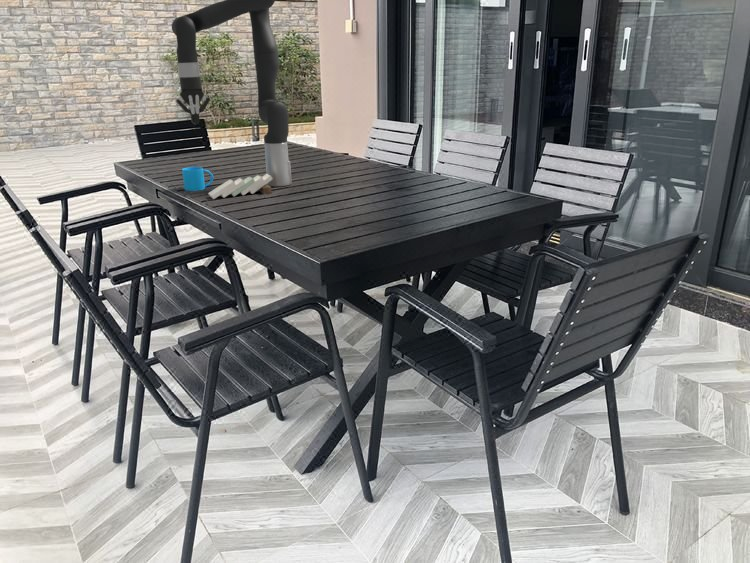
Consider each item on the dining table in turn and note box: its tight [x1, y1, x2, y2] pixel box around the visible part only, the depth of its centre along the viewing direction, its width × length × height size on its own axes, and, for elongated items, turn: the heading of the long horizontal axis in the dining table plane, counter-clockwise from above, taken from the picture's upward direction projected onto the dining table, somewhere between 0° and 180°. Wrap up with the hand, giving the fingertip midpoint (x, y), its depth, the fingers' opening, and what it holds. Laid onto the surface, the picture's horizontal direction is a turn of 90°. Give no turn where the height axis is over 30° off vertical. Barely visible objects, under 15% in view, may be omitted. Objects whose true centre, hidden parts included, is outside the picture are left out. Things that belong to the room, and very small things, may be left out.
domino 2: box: [219, 177, 246, 199], centre depth 235 cm, size 2×5×10 cm
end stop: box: [257, 184, 272, 195], centre depth 241 cm, size 3×9×2 cm, turn 28°
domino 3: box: [230, 176, 255, 197], centre depth 236 cm, size 2×5×10 cm
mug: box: [181, 166, 214, 192], centre depth 248 cm, size 12×8×8 cm
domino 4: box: [239, 174, 264, 196], centre depth 238 cm, size 2×5×10 cm
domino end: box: [248, 173, 272, 195], centre depth 239 cm, size 2×5×10 cm
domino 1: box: [207, 179, 236, 200], centre depth 233 cm, size 2×5×10 cm
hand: (196, 124), depth 231 cm, fingers closed
